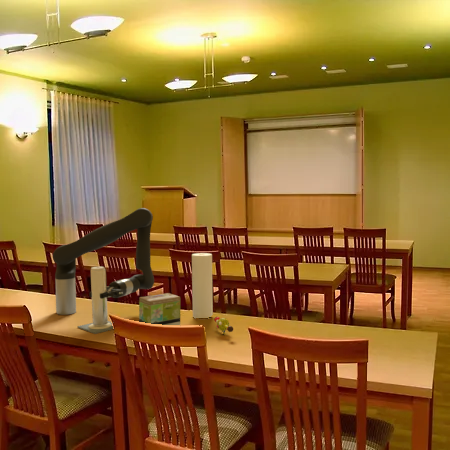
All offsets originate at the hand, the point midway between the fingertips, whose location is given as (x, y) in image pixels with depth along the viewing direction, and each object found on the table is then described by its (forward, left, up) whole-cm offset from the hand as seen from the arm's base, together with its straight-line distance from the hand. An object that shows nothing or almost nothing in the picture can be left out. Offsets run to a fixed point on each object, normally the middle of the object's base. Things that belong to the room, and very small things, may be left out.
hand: (95, 295), depth 220 cm
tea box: (+22, +17, -15) cm, 32 cm away
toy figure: (+46, +31, -15) cm, 58 cm away
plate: (-1, +2, -15) cm, 15 cm away
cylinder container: (+19, +45, -15) cm, 52 cm away
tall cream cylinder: (-1, +3, -13) cm, 13 cm away
